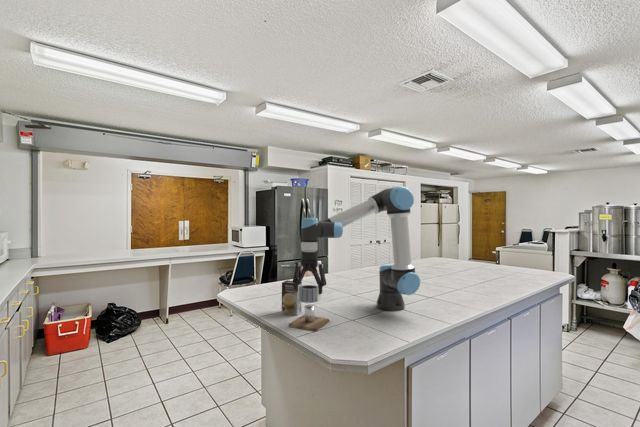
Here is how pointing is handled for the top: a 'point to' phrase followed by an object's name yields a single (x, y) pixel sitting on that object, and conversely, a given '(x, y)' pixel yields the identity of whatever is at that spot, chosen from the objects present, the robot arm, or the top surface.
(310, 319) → the post
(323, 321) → the base
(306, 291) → the grey ribbed cylinder
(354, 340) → the top surface
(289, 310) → the coffee box
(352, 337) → the top surface
